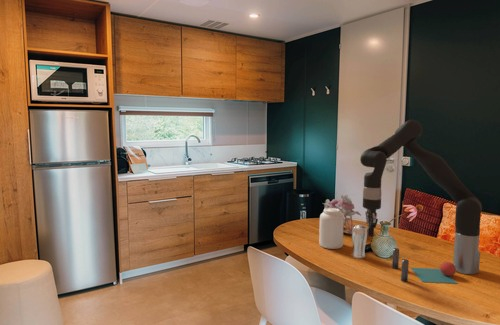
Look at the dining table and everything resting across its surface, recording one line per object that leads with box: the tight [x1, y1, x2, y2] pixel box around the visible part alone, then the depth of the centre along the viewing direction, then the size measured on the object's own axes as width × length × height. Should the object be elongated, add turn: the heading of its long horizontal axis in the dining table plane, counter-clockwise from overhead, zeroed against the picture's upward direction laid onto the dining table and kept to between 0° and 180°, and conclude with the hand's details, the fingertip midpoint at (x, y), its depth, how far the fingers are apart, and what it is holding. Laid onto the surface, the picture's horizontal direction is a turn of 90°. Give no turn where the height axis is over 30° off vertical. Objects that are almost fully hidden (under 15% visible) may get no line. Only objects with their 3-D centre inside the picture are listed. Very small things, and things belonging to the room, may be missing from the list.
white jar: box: [318, 207, 345, 250], centre depth 190 cm, size 12×12×20 cm
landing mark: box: [410, 267, 458, 285], centre depth 154 cm, size 14×14×1 cm
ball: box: [439, 261, 457, 277], centre depth 153 cm, size 6×6×6 cm
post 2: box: [400, 258, 410, 283], centre depth 149 cm, size 3×3×9 cm
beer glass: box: [351, 224, 368, 259], centre depth 175 cm, size 7×7×15 cm
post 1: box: [391, 247, 400, 270], centre depth 161 cm, size 3×3×9 cm
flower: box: [322, 194, 362, 235], centre depth 214 cm, size 20×22×25 cm
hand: (370, 235), depth 155 cm, fingers closed
